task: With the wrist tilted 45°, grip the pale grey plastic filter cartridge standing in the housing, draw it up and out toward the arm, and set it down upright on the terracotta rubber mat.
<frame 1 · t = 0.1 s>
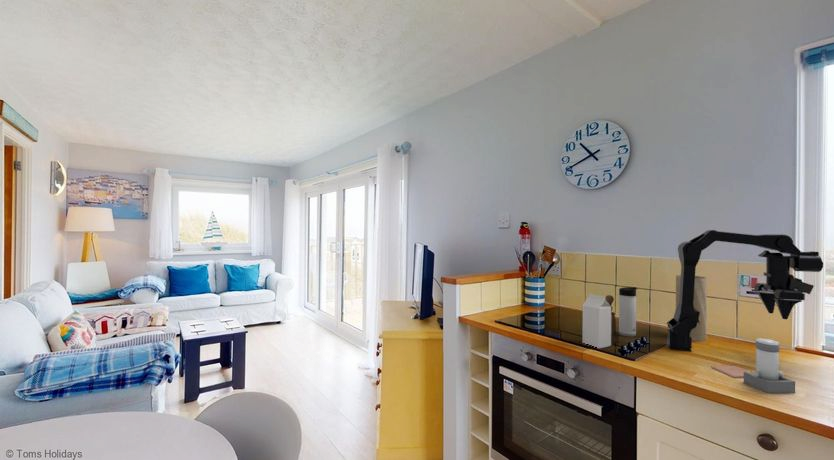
hand: (777, 316, 125), 15 cm above the counter, tool pointing down, fingers open, 9 cm apart
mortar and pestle: (609, 341, 145), on the counter
filter cartridge: (767, 386, 103), on the counter
travel mug: (627, 335, 153), on the counter
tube: (690, 338, 149), on the counter
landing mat: (734, 372, 113), on the counter
cartridge housing: (767, 386, 103), on the counter
milk carton: (596, 345, 140), on the counter
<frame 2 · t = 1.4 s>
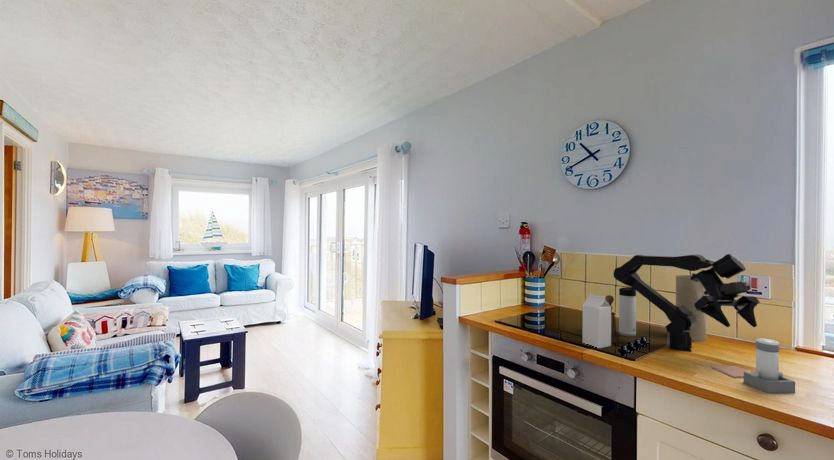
hand: (742, 326, 116), 13 cm above the counter, tool tilted 45°, fingers open, 9 cm apart
travel mug: (627, 335, 153), on the counter, touching arm
everything else where it was.
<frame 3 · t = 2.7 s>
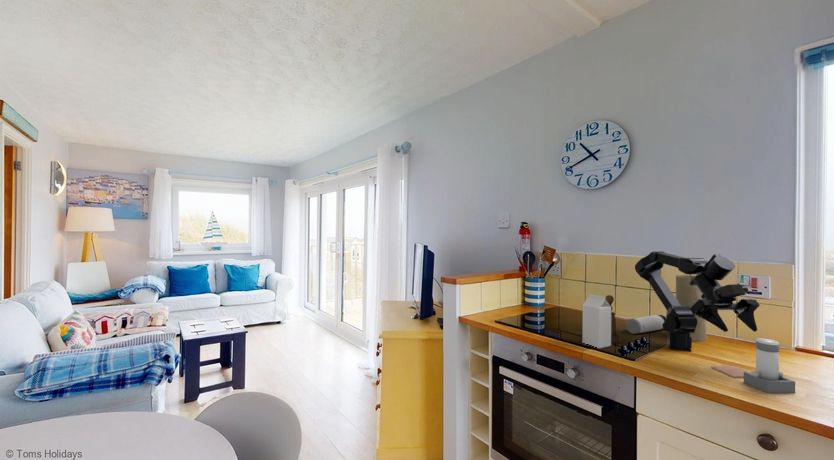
hand: (741, 331, 111), 13 cm above the counter, tool tilted 45°, fingers open, 9 cm apart
travel mug: (632, 326, 154), point 3 cm above the counter
everything else where it was.
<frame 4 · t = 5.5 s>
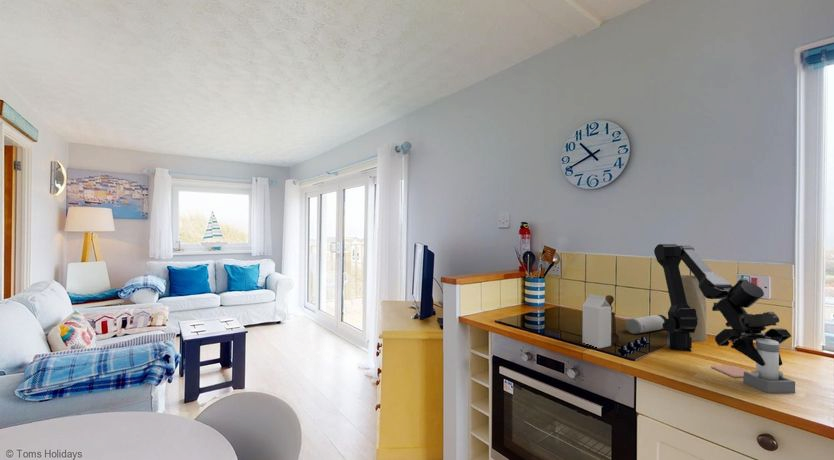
hand: (772, 365, 102), 7 cm above the counter, tool tilted 45°, fingers closed on filter cartridge, 5 cm apart
filter cartridge: (767, 386, 103), on the counter, touching gripper
everything else where it was.
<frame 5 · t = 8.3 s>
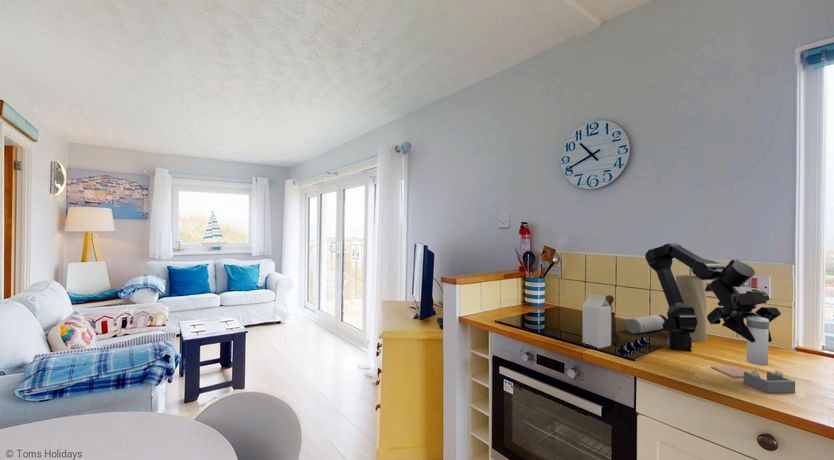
hand: (761, 341, 104), 12 cm above the counter, tool tilted 45°, fingers closed on filter cartridge, 5 cm apart
filter cartridge: (756, 362, 106), point 6 cm above the counter, touching gripper
everything else where it was.
when the fingers open (8 cm above the counter, at t = 11.2 s): filter cartridge drops 1 cm, resting on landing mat.
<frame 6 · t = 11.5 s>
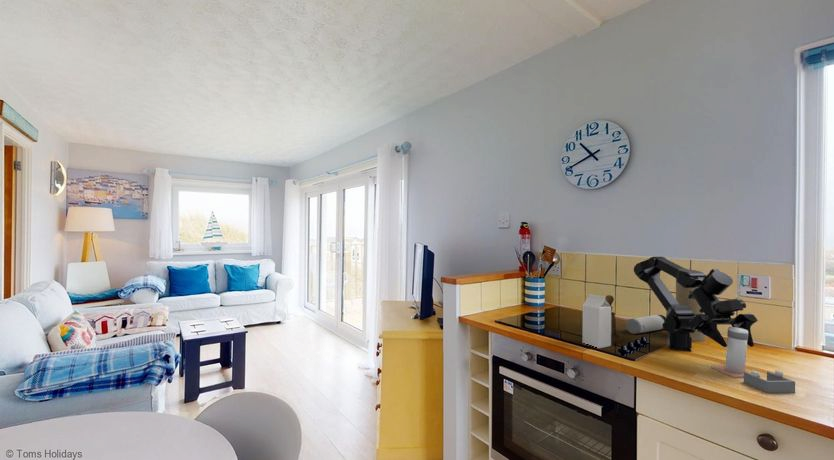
hand: (739, 346, 112), 9 cm above the counter, tool tilted 45°, fingers open, 8 cm apart
filter cartridge: (734, 370, 113), point 1 cm above the counter, touching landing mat
everything else where it was.
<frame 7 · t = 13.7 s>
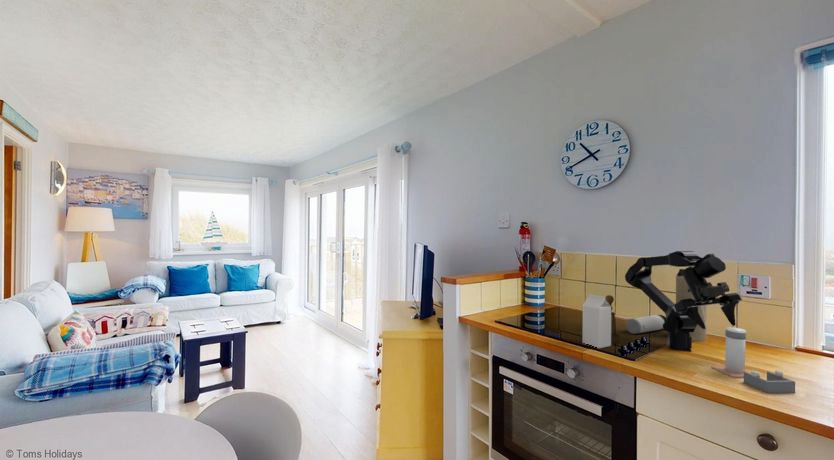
hand: (719, 327, 121), 12 cm above the counter, tool tilted 30°, fingers open, 9 cm apart
nothing on the counter moved.
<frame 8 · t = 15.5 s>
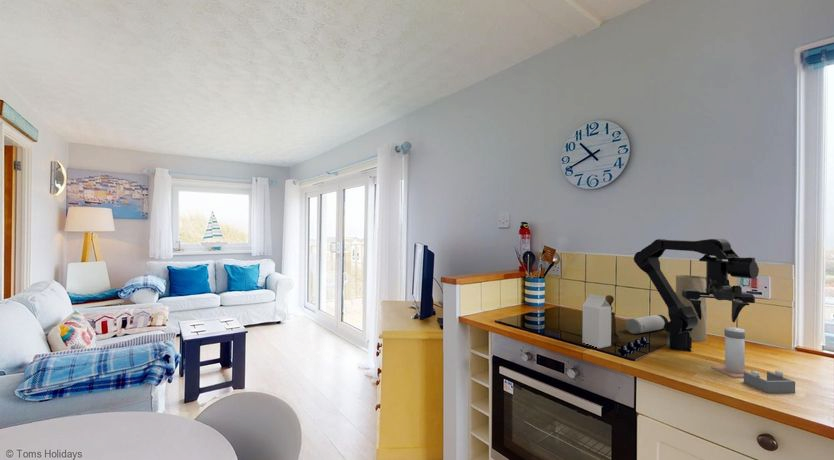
hand: (716, 320, 125), 13 cm above the counter, tool pointing down, fingers open, 9 cm apart
nothing on the counter moved.
at the end: filter cartridge 0.0 cm off-centre on the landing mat, point 0.5 cm above the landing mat's base; filter cartridge tilted 1°; the gripper is holding nothing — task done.
